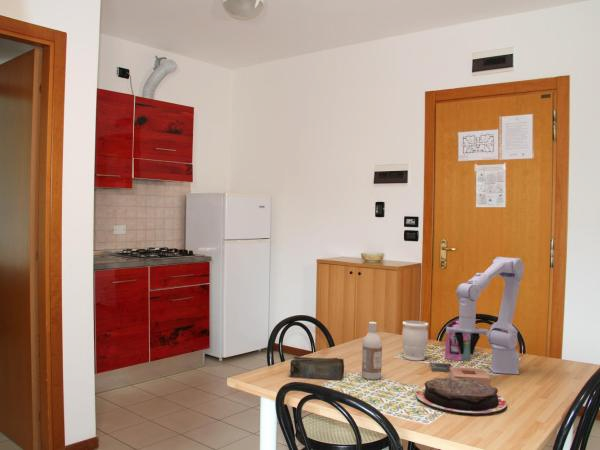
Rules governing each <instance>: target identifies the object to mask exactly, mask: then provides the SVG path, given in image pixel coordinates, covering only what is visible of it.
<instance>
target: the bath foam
mask: <svg viewBox="0 0 600 450" xmlns="http://www.w3.org/2000/svg"><path fill="white" fill-rule="evenodd" d="M377 327H378V323H377V321H369V322H368V333H367V334H366V335H365V336H364V338H363V341H362V350H361V351H362V362H361V377H362V378H363V379H365V378H366V380H369V379H371V381H376V379H377V380H380V379H381V378H382V363H383V362H382V357H383V355H382V354H383V344H382V340H381V338H380V336H379V334H378V332H377V331H378V330H377V329H378V328H377Z"/></svg>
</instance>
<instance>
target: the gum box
mask: <svg viewBox="0 0 600 450" xmlns="http://www.w3.org/2000/svg"><path fill="white" fill-rule="evenodd" d="M446 327H459V318H456V319H455V320H453V321H452V322H451V323H449V324H448V325H447V326H446ZM463 340H470V341H471V338H470V334H463ZM444 350H445V351H444V359H447V360H453V361H460V362H465V361H464V360H462V354H460V349H459V344H458V341H457V339H456V336H455V334H454V333H446V332H445V349H444Z"/></svg>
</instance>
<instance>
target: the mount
mask: <svg viewBox="0 0 600 450" xmlns="http://www.w3.org/2000/svg"><path fill="white" fill-rule="evenodd" d="M449 367H453V365H451V363H445V362H443V363H442V362H429V368H430V371H431V372H440V373H449Z"/></svg>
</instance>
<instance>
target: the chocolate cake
mask: <svg viewBox="0 0 600 450" xmlns="http://www.w3.org/2000/svg"><path fill="white" fill-rule="evenodd" d="M498 391H499V390H498V388H497V387H492V386H491V385H490V386H488V385H485V384H482V383H479V382H477V381H474V380H471V379H466V378H461V377H458V378H451V377H450V376H449V377H437V378H434V379H432V380H427V381H425V382H424V386H422V387H420V388H418V389H417V390H416V392H415V397H416V398H417V401H419V402H421V403H423V404H426V405H428V406H429V407H430V408H431V409H435V410H438V411H441V412H446V413H449V414H453V415H454V414H455V415H459V416H463V415H469V416H475V417H477V416H478V417H479V416H481V415H486V416H493V415H494V414H496V413H497V414H498V412H500V411H503V410H504V409H505V408H507V405H508V404H507V401H506V399H505V398H504V397H503V396H501V395H499V394H498Z"/></svg>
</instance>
